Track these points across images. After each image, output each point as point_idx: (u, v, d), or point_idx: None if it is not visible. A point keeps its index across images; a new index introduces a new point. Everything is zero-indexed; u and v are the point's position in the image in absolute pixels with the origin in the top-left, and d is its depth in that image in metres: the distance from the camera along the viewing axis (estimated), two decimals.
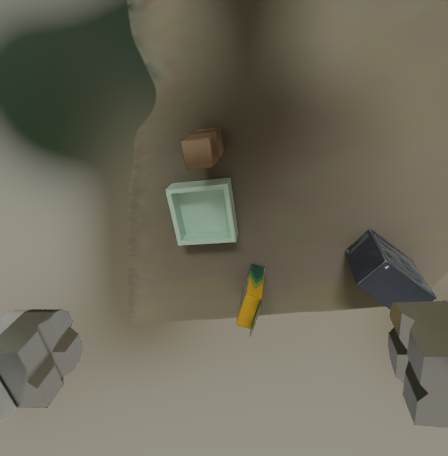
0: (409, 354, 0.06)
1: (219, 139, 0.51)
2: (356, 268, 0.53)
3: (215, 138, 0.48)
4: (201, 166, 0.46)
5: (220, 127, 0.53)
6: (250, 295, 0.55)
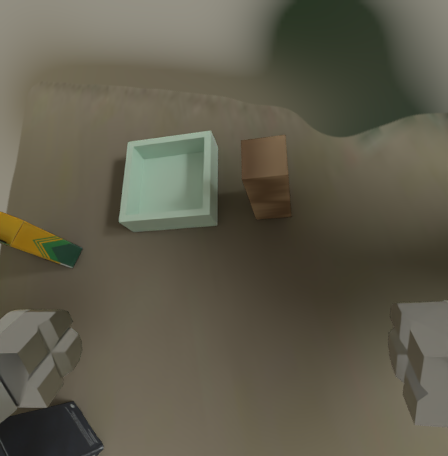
0: (409, 354, 0.06)
1: (275, 208, 0.35)
2: (30, 420, 0.29)
3: (280, 196, 0.32)
4: (244, 161, 0.29)
5: (290, 215, 0.37)
6: (20, 226, 0.33)
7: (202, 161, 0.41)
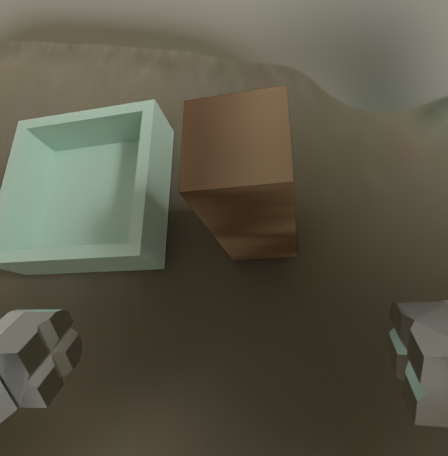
0: (409, 354, 0.06)
1: (267, 246, 0.18)
2: None
3: (276, 226, 0.15)
4: (187, 149, 0.12)
5: (295, 255, 0.20)
6: None
7: None
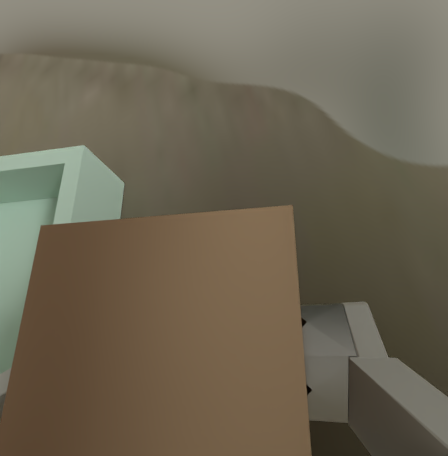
0: None
1: None
2: None
3: None
4: (23, 380, 0.04)
5: None
6: None
7: None
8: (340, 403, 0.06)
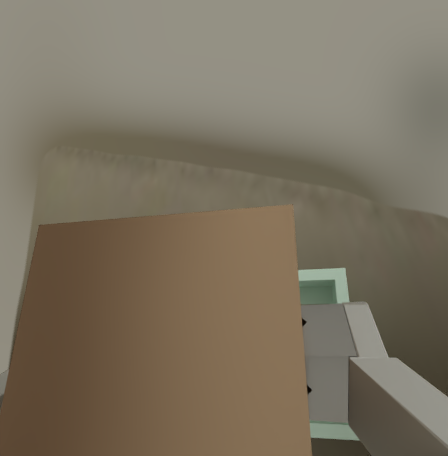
0: None
1: None
2: None
3: None
4: (21, 381, 0.04)
5: None
6: None
7: None
8: (340, 403, 0.06)
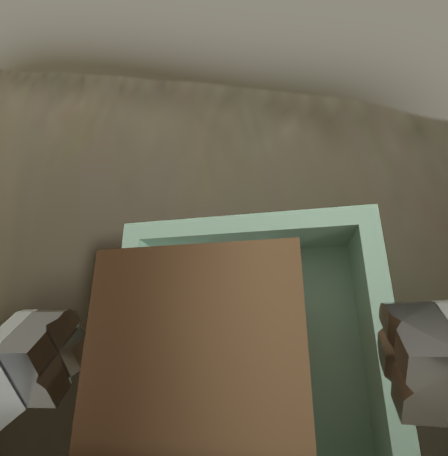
0: (396, 354, 0.06)
1: None
2: None
3: None
4: (91, 373, 0.06)
5: None
6: None
7: (327, 276, 0.15)
8: (443, 407, 0.06)
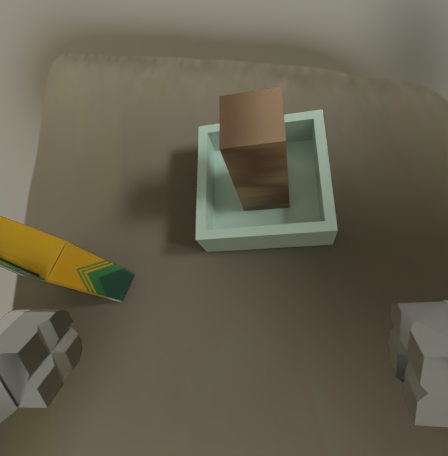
0: (409, 354, 0.06)
1: (269, 196, 0.26)
2: None
3: (275, 177, 0.23)
4: (223, 125, 0.20)
5: (288, 206, 0.28)
6: (60, 251, 0.21)
7: (301, 154, 0.30)
8: None
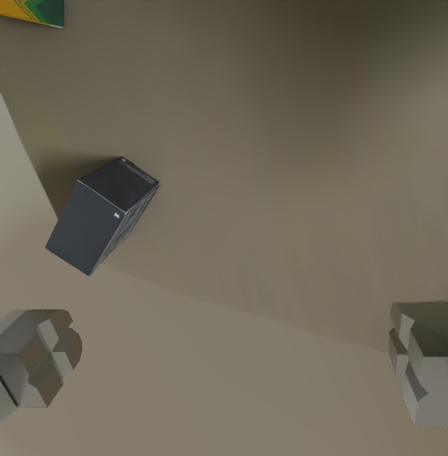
0: (409, 354, 0.06)
1: None
2: (103, 175, 0.36)
3: None
4: None
5: None
6: None
7: None
8: None
